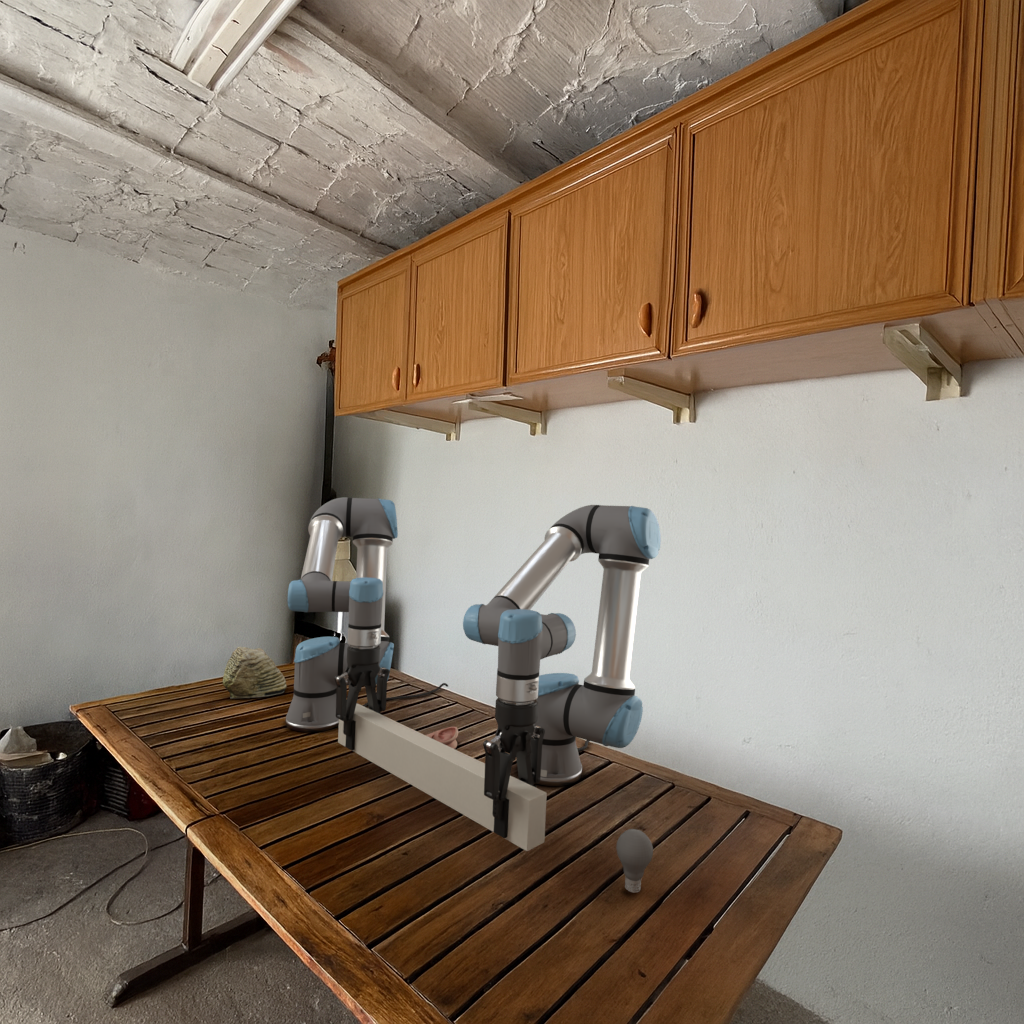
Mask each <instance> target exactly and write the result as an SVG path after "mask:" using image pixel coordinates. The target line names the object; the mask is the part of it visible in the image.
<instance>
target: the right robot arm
mask: <svg viewBox="0 0 1024 1024" xmlns="http://www.w3.org/2000/svg"><path fill="white" fill-rule="evenodd" d="M661 537H662V536H661V529H660V524H659V521H658V518H657V516H656V514H655V513H654V511H653V510H651V509H650V508H647V507H642V506H635V505H602V504H589V505H584V506H580V507H578V508H576V509H573V510H572V511H570V512H568V513H567V514H565V515H564V516H562V517H560V518H559V519H558V520H556V522H554V524H552V525H551V526H550V527H549V529H548V530H547V531H546V532H545V534H544V540H543V542H542V543H541V544H540V545H539V546H538V547H537V549H535V551H534V552H533V553H532V554H531V555H530V556H529V557H528V558H527V559H526V561H524V563H523V564H522V565H521V566H520V567H519V568H518V569H517V571H516V572H515V573H514V574H513V575H512V576H511V577H510V578H509V580H508V581H507V582H506V583H505V584H504V585H503V586H502V588H500V590H499V591H498V592H497V593H496V594H495V595H494V596H493V598H492V599H491V600H490V601H489V602H488V603H487V604H484V603H480V604H479V603H478V604H473V605H471V606H470V607H468V608H467V609H466V611H465V613H464V616H463V619H462V628H463V631H464V635H465V636H466V638H467V639H469V640H471V641H473V642H476V643H480V644H482V645H488V646H495V647H497V668H496V669H497V670H496V687H495V696H496V699H495V705H494V706H495V709H494V718H495V721H496V723H497V724H496V725H497V729H496V731H495V735H494V737H493V738H492V739H491V740H488V739H485V740H484V741H483V742H482V746H483V750H484V755H485V756H484V763H485V778H484V795H485V796H487V797H488V798H490V799H492V800H493V813H492V814H493V817H494V832H493V834H496V835H497V836H499V837H501V838H502V839H505V838H507V836H508V815H509V799H507V798H506V794H507V789H508V784H509V779H510V776H511V773H512V769H513V763H514V761H516V766H517V775H518V779H519V780H521V781H523V782H525V783H527V784H529V785H531V786H533V787H536V788H537V785H539V786H545V787H546V786H547V787H564V786H570V785H572V784H576V783H577V782H578V781H579V780H581V779H582V775H583V765H582V762H581V758H580V754H579V752H582V751H585V750H586V749H587V748H588V746H589V743H590V742H593V743H597V744H600V745H602V746H604V747H611V748H616V749H624V748H626V747H628V746H629V745H630V744H631V743H632V742H633V740H634V739H635V738H636V735H637V733H638V731H639V729H640V725H641V722H642V718H643V712H644V706H643V701H642V699H641V698H640V697H638V696H637V695H635V694H636V685H635V684H634V682H633V681H632V680H631V678H630V675H631V668H632V659H633V649H634V642H635V631H636V621H637V613H638V603H639V595H640V587H641V577H642V573H643V572H644V571H645V570H647V569H648V568H649V564H650V560H654V559H656V558H657V557H658V555H659V552H660V549H661V541H662V540H661ZM591 553H592V554H598V559H597V560H598V562H599V564H600V565H601V567H602V569H603V573H602V579H601V580H602V581H601V589H600V596H599V597H600V599H599V608H598V615H597V623H596V624H597V625H596V631H595V641H594V650H593V658H592V667H591V672H590V674H588V675H587V676H586V677H585V678H584V679H583V684H580V678H579V677H578V675H576V674H574V673H568V672H553V673H552V672H551V673H545V674H544V673H543V674H540V670H541V669H540V667H541V660H544V659H547V658H548V657H552V656H555V655H560V654H562V653H563V652H565V651H567V650H569V649H570V648H571V647H572V646H573V645H574V643H575V641H576V636H577V631H576V626H575V624H574V622H573V621H572V619H571V618H570V617H569V616H568V615H566V614H564V613H561V612H556V613H555V612H550V613H547V614H542V613H540V612H539V611H537V610H531V609H532V608H533V607H534V606H535V605H536V603H537V602H538V601H539V600H540V598H541V597H542V596H543V595H544V593H546V591H547V590H548V589H549V587H550V586H551V585H552V584H553V582H554V581H555V580H556V579H557V577H558V576H559V575H560V574H561V573H562V571H564V569H565V567H566V566H567V565H568V564H569V563H570V562H574V561H576V560H578V559H579V557H580V556H581V555H583V554H591ZM577 738H578V739H582V740H585V741H584V745H583V746H581V747H579V748H578V746H577V742H576V741H577V740H576V739H577ZM499 791H500V792H499ZM505 840H506V839H505Z"/></svg>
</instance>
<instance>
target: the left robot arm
mask: <svg viewBox="0 0 1024 1024" xmlns="http://www.w3.org/2000/svg"><path fill="white" fill-rule="evenodd" d="M307 528H308V534H309V539H308V545H307V549H306V553H305V558H304V563H303V567H302V571H301V576H300V579H295V580H291V581H290V582H289V584H288V589H287V607H288V610H290V611H291V612H303V613H348V624H347V625H348V627H347V642H341V640H340V638H339V637H337V636H320V637H314V638H310V639H306V640H303V641H302V642H299V643H298V645H296V648H295V655H294V660H293V663H294V674H293V675H294V680H293V695H292V696H293V697H292V699H291V702H290V704H289V708H288V711H287V713H286V715H285V726H286V728H287V729H289V730H291V731H294V732H295V731H296V732H301V733H316V732H325V731H329V730H332V729H335V728H337V727H339V719H340V720H342V721H344V725H343V733H344V734H345V735H346V746H344V747H345V748H346V749H348V750H350V751H352V750H355V728H356V721H354V720H353V716H354V712H355V708H356V704H357V703H358V700H359V699H358V698H359V695H360V693H361V692H362V688H363V687H364V689H365V694H366V700H367V702H366V703H364V704H363V705H362V706H364V707H366V708H368V709H370V710H373V711H375V712H377V713H379V714H381V715H382V712H385V711H386V710H387V701H394V700H402V699H412V698H420V697H424V696H427V695H430V694H433V693H435V692H438V691H439V690H440V689H441V688H442V687H443V686H445V687H449V684H447V683H446V682H443V683H441V684H440V685H438V687H436V688H434V689H432V690H429V691H427V692H423V693H417V694H412V695H411V694H410V695H401V696H391V697H387V696H388V695H387V691H388V681H389V678H390V672H391V667H392V662H393V654H394V647H395V643H393V642H392V641H390V635H389V634H388V633H387V632H386V631H385V620H386V619H385V615H386V614H385V613H386V593H387V592H386V589H387V563H388V562H387V561H388V549H389V548H390V547H391V546H392V545H393V541H394V539H397V538H398V537H399V534H398V533H399V531H398V519H397V510H396V504H395V503H394V502H393V500H392V499H386V498H385V499H383V498H379V497H377V498H365V497H345V496H343V497H337V498H334V499H331V500H329V501H327V502H326V503H324V504H323V505H321V506H320V507H319V508H318V509H316V511H314V513H313V514H312V516H311V518H310V520H309V523H308V527H307ZM342 537H346V538H347V537H348V538H352V544H353V546H355V547H356V549H357V553H356V573H355V578H352V579H351V581H350V580H333V576H334V570H335V563H336V556H337V551H338V544H339V540H340V539H342ZM367 706H368V707H367Z"/></svg>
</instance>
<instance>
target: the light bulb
mask: <svg viewBox="0 0 1024 1024" xmlns="http://www.w3.org/2000/svg"><path fill="white" fill-rule="evenodd" d="M615 849H616V854H617V857H618V859H619V861H620V863H621V865H622V867H623V873H624V874H623V875H624V876H625V878H624V888H625V890H627V891H628V892H630V893H634V894H635V893H639V892H640V891H641V889H642V887H641V886H642V879H643V877H644V875H645V871H646V868H647V867H648V866H649V864H650V863H651V861H652V859H653V855H654V847H653V843H652V841H651V838H649V836H648V835H647V834H646V833H645V832H643V831H642V830H641V829H636V828H629V829H627V830H625V831H623V832H622V833H621V834H620V835H619V837H618V839H617V841H616V847H615Z"/></svg>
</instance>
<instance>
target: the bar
mask: <svg viewBox="0 0 1024 1024" xmlns="http://www.w3.org/2000/svg"><path fill="white" fill-rule="evenodd" d="M353 720H354V721H356V728H355V750H351V752H354V753H355V754H357V755H359V756H360V757H362V758H364V759H366V760H367V761H368V762H371V763H372V764H374V765H376V766H378V767H380V768H381V769H383V770H385V771H387V772H388V773H390V774H391V775H394V776H395V777H397V778H398V779H400V780H402V781H404V782H405V783H408V784H409V785H411V786H413V787H414V788H416V789H418V790H419V791H421V792H423V793H425V794H426V795H428V796H430V797H432V798H433V799H435V800H437V801H438V802H440V803H442V804H444V805H446V806H447V807H449V808H451V809H452V810H454V811H456V812H458V813H460V814H461V815H463V816H464V817H467V818H468V819H470V820H472V821H474V822H475V823H477V824H479V825H480V826H482V827H483V828H485V829H487V830H489V831H491V832H493V833H494V817H493V814H492V813H493V800H492V799H490V798H488V797H487V796H485V795H484V778H485V762H483V761H480V760H478V759H476V758H474V757H472V756H469V755H468V754H465V753H464V752H462V751H459V750H457V749H456V748H455V749H453V748H451V747H449V746H447V745H445V744H442V743H440V742H438V741H436V740H434V739H432V738H430V737H428V736H426V735H427V734H423V733H422V732H419V731H417V730H414V729H412V728H411V727H408V726H406V725H404V724H402V723H400V722H398V721H396V720H395V719H394V720H393V719H391V718H389V717H387V716H385V715H383V714H382V713H381V714H379V713H377V712H375V711H373V710H370V709H369V707H367V706H366V707H364V706H363V705H362V704H360V703H358V702H357V704H356V708H355V712H354V716H353ZM343 725H344V721H342V720H340V719H339V726H338V733H337V734H338V735H337V743H338V744H339V745H341V746H343V747H345V746H346V735H345V734H344V733H343ZM499 792H500V791H499ZM547 796H548V792H547V791H544V790H542V789H540V788H536V787H533V786H531V785H529V784H527V783H525V782H523V781H521V780H519V778H516V777H514V776H513V775H510V779H509V784H508V789H507V794H506V798H507V799H509V815H508V836H507V838H505V840H506V841H508V842H510V843H512V844H513V845H515V846H517V847H518V848H520V849H522V850H524V851H525V852H529V851H532V850H533V849H535V848H537V847H538V846H540V845H542V844H544V843H545V842H546V841H545V840H546V839H545V838H546V822H547V821H546V818H547V817H546V816H547Z"/></svg>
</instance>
